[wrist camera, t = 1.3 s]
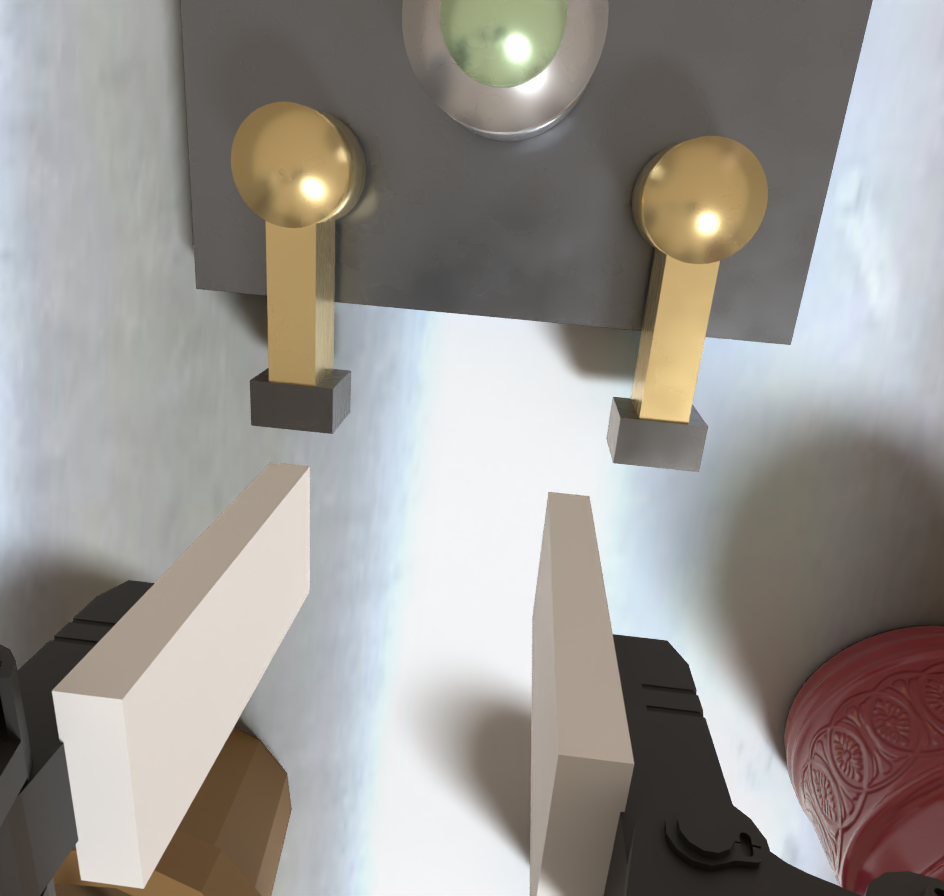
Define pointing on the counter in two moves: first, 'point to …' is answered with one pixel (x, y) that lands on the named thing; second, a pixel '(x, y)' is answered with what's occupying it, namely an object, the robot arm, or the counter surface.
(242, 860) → the flowerpot
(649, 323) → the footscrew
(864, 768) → the canister
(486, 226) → the levelling base
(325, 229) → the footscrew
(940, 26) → the counter surface
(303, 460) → the counter surface
